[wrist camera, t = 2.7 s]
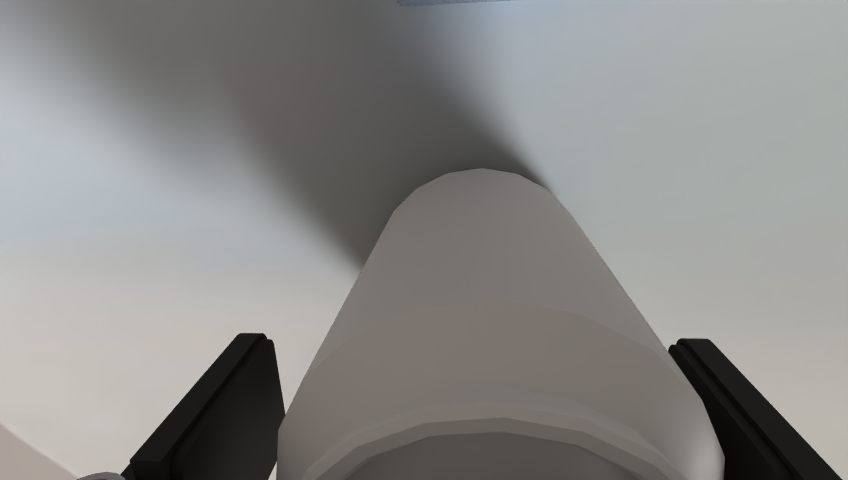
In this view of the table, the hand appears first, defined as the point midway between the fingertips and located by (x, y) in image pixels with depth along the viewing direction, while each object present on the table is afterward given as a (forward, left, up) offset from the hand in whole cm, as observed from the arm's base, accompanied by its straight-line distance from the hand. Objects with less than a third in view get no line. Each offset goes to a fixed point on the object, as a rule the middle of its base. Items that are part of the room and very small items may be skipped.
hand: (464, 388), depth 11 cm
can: (-1, 0, -7) cm, 7 cm away
